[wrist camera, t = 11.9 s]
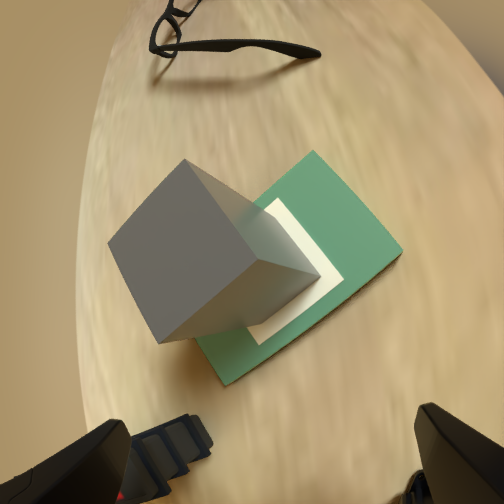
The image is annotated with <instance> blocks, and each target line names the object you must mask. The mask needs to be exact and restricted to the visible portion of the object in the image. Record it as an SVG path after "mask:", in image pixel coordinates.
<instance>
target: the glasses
mask: <svg viewBox="0 0 504 504" xmlns="http://www.w3.org/2000/svg"><path fill="white" fill-rule="evenodd" d="M201 1H202V0H198V2H197V4H196V5H195V7H194V8H193V9H192V10H191V11H190V12H189V13H187V12H184V11H181V10H179V9H177V8H174V7H173V2H174V0H169V3H168V5H167V8H166V10H165V12H164V13H163V15H162V16H161V17H160V18H159V19H158V21H157V22H156V24H155V26H154V28H153V30H152V33H151V37H150V43H149V51H150V52H151V53H153V54H157V55H159V56H161V57H164V58H173V57H174V56H176V55H177V52H178V51H210V52H231V51H233V50H236V49H238V48H241V47H246V46H256V47H261V48H265V49H269V50H273V51H276V52H279V53H282V54H285V55H288V56H291V57H295V58H298V59H305V58H312V57H321V52H320V51H318V50H316V49H313V48H310V47H306V46H302V45H297V44H292V43H287V42H282V41H275V40H261V39H218V40H201V41H190V42H183V43H179V42H180V39H181V36H182V34H181V30H180V28H179V26H178V24H177V22H176V20H175V19H174V17H173V16H172V15H174V16H177V17H188V16H190V15H191V14H192V13H193V11H194V10H195V9H196V7H197V6H198V4H199V3H200V2H201ZM164 19H165V20H167V21H168V22H169V23H170V24H171V26H172V27H173V28H174V30H175V32H176V34H177V43H176V44H168V45H159V46H157V45H156V42H155V38H156V33H157V30H158V28H159V25H160V23H161V22H162V21H163V20H164ZM164 51H174V52H173V53H172V54H169V53H166V52H164Z"/></svg>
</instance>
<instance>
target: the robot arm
mask: <svg viewBox="0 0 504 504" xmlns="http://www.w3.org/2000/svg"><path fill="white" fill-rule="evenodd" d="M414 431H415V435H416V439H417V444H418V448H419V453H420V457H421V462H422V467H423V469H422V470H419V471H417V472H416V474H415V476H414V478H413V481H412V483H411V486H410V488H409V490H408V493H404V494H403V495H402V496H401V499H400V501H399V503H398V504H504V448H503V447H502V446H500V445H499V444H497V443H495V442H494V441H492V440H491V439H489V438H487V437H486V436H484V435H483V434H481V433H480V432H478V431H476V430H475V429H473V428H472V427H470V426H469V425H467V424H465V423H464V422H462V421H461V420H459V419H458V418H456V417H455V416H453V415H451V414H450V413H448V412H447V411H445V410H444V409H442V408H441V407H439V406H438V405H436V404H435V403H432V402H430V403H426V404H422V405H420V406H419V408H418V411H417V415H416V419H415V423H414ZM131 443H132V440H131V436H130V434H129V432H128V430H127V428H126V426H125V424H124V422H123V421H122V420H118V419H109V420H108V421H106V422H105V423H103V424H101V425H100V426H98V427H97V428H95V429H94V430H92V431H91V432H89V433H88V434H86V435H85V436H83V437H81V438H80V439H78V440H77V441H75V442H74V443H72V444H71V445H69V446H67V447H66V448H64V449H62V450H61V451H59V452H58V453H56V454H54V455H53V456H51V457H49V458H48V459H46V460H45V461H43V462H41V463H40V464H38V465H36V466H35V467H34V468H31V469H30V470H28V471H26V472H24V473H22V474H21V475H19V476H17V477H15V478H13V479H11V480H9V481H7V482H5V483H3V484H0V504H116V501H117V498H118V495H119V492H120V489H121V486H122V483H123V479H124V475H125V471H126V466H127V461H128V457H129V452H130V448H131ZM420 475H424V477H421V478H420V477H419V476H420Z"/></svg>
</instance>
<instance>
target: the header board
mask: <svg viewBox="0 0 504 504" xmlns="http://www.w3.org/2000/svg"><path fill="white" fill-rule="evenodd" d="M253 203H254V204H256V205H257V206H259V207H260V208H262V209H263V210H265V211H266V212H267V213H269V214H270V215H272V216H273V217H275V218H276V219H277V221H278V222H279V223H280V224H281V226H282V227H283V228H284V229H285V231H286V232H287V233H288V234H289V236H290V237H291V238H292V239H293V241H294V242H295V243H296V244H297V246H298V247H299V248H300V250H301V251H302V252H303V253H304V255H305V256H306V257H307V258H308V260H309V261H310V262H311V264H312V265H313V266H314V267H315V269H316V270H317V271H318V273H319V274H320V275H321V277H320V278H319V279H318V280H316V281H315V282H314V283H313V284H311V285H310V286H309V287H308V288H306V289H305V290H304V291H303V292H302V293H300V294H299V295H298V296H297V297H295V298H294V299H293V300H292V301H290V302H289V303H288V304H286V305H285V306H284V307H283V308H281V309H280V310H279V311H278V312H276V313H275V314H274V315H272V316H271V317H270V318H269V319H267V320H266V321H265V322H263V323H262V324H259V325H254V326H250V327H245V328H241V329H236V330H231V331H226V332H221V333H216V334H211V335H206V336H201V337H196V338H195V340H196V342H197V343H198V345H199V346H200V348H201V350H202V351H203V353H204V354H205V356H206V358H207V359H208V361H209V362H210V364H211V365H212V367H213V368H214V370H215V372H216V373H217V375H218V376H219V378H220V379H221V381H222V382H223V384H224V385H225V386H226V385H228V384H230V383H232V382H234V381H235V380H237V379H238V378H240V377H241V376H243V375H244V374H246V373H247V372H249V371H250V370H252V369H253V368H255V367H256V366H257V365H259V364H260V363H262V362H263V361H265V360H266V359H268V358H269V357H270V356H272V355H273V354H275V353H276V352H278V351H279V350H280V349H282V348H283V347H285V346H286V345H287V344H289V343H290V342H292V341H293V340H294V339H296V338H297V337H298V336H300V335H301V334H302V333H304V332H305V331H307V330H308V329H309V328H311V327H312V326H313V325H315V324H316V323H317V322H318V321H320V320H321V319H322V318H324V317H325V316H326V315H328V314H329V313H330V312H331V311H333V310H334V309H335V308H337V307H338V306H339V305H340V304H342V303H343V302H344V301H345V300H347V299H348V298H349V297H350V296H352V295H353V294H354V293H355V292H357V291H358V290H359V289H360V288H362V287H363V286H364V285H365V284H366V283H368V282H369V281H370V280H371V279H372V278H374V277H375V276H376V275H377V274H378V273H380V272H381V271H382V270H383V269H384V268H385V267H387V266H388V265H389V264H390V263H391V262H392V261H394V260H395V259H396V258H397V257H398V256H399V255H400V254H402V252H403V249H402V248H401V247H400V245H399V244H398V243H397V242H396V240H395V239H394V238H393V237H392V236H391V234H390V233H389V232H388V231H387V230H386V229H385V227H384V226H383V225H382V224H381V223H380V221H379V220H378V219H377V218H376V217H375V216H374V215H373V213H372V212H371V211H370V210H369V209H368V208H367V207H366V205H365V204H364V203H363V202H362V201H361V200H360V199H359V198H358V197H357V195H356V194H355V193H354V192H353V191H352V190H351V189H350V188H349V187H348V186H347V185H346V183H345V182H344V181H343V180H342V179H341V178H340V177H339V176H338V175H337V174H336V173H335V172H334V171H333V170H332V169H331V168H330V167H329V166H328V165H327V164H326V163H325V162H324V160H323V159H322V158H321V157H320V156H319V155H318V154H317V153H316V152H315V151H314V150H312V151H311V152H310V153H309V154H308V155H307V156H305V157H304V158H303V159H302V160H301V161H300V162H299V163H297V164H296V165H295V166H294V167H293V168H292V169H290V170H289V171H288V172H287V173H286V174H285V175H284V176H282V177H281V178H280V179H279V180H278V181H277V182H276V183H275V184H273V185H272V186H271V187H270V188H269V189H268V190H267V191H266V192H264V193H263V194H262V195H261V196H260V197H259V198H258V199H257V200H255V201H254V202H253Z"/></svg>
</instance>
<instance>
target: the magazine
mask: <svg viewBox="0 0 504 504" xmlns="http://www.w3.org/2000/svg"><path fill="white" fill-rule="evenodd" d="M131 440H132V443H131V448H130V452H129V457H128V461H127V466H126V471H125V475H124V479H123V483H122V486H121V489H120V492H119V495H118V498H117V501H116V504H140V503H143V502H147V501H150V500H154V499H157V498H160V497H163V496H166V495H169V493H170V492H171V491H172V490H171V488H170V487H169V485H168V483H167V481H168V480H171V479H174V478H177V477H180V476H182V475H185V474H187V473H188V472H189V471H190V470H189V469H188V467H187V464H188V463H191V462H194V461H197V460H200V459H203V458H206V457H208V456H209V455H211V452H210V451H209V448H210V447H211V446H212V445H213V441H212V439H211V438H210V436H209V434H208V433H207V431H206V429H205V427H204V426H203V424H202V422H201V421H200V419H199V417H198V416H197V415H191V416H189V415H188V414H185V415H182V416H180V417H178V418H175V419H173V420H171V421H168V422H166V423H164V424H161V425H159V426H156V427H154V428H151V429H149V430H146V431H144V432H141V433H139V434H136V435H134V436H131ZM18 476H19V475H18ZM15 477H17V476H15ZM15 477H14V478H15Z"/></svg>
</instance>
